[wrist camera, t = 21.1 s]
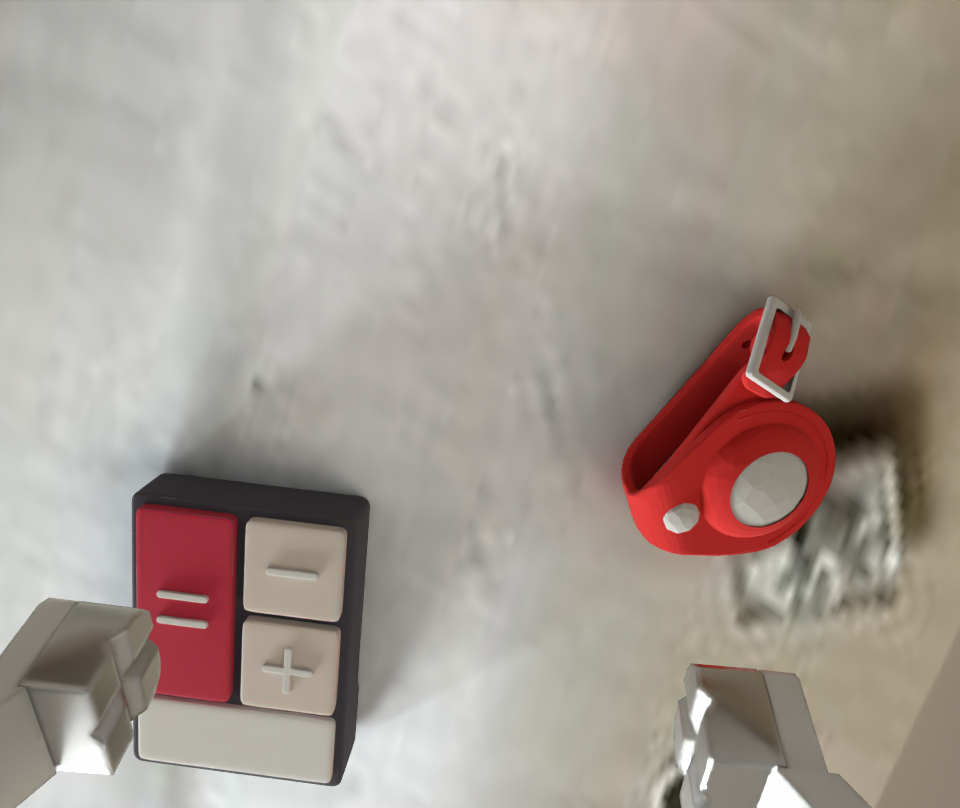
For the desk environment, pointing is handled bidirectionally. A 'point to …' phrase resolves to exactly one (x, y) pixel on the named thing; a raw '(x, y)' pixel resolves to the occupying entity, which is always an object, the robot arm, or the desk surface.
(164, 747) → the calculator
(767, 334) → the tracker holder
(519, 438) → the desk surface
